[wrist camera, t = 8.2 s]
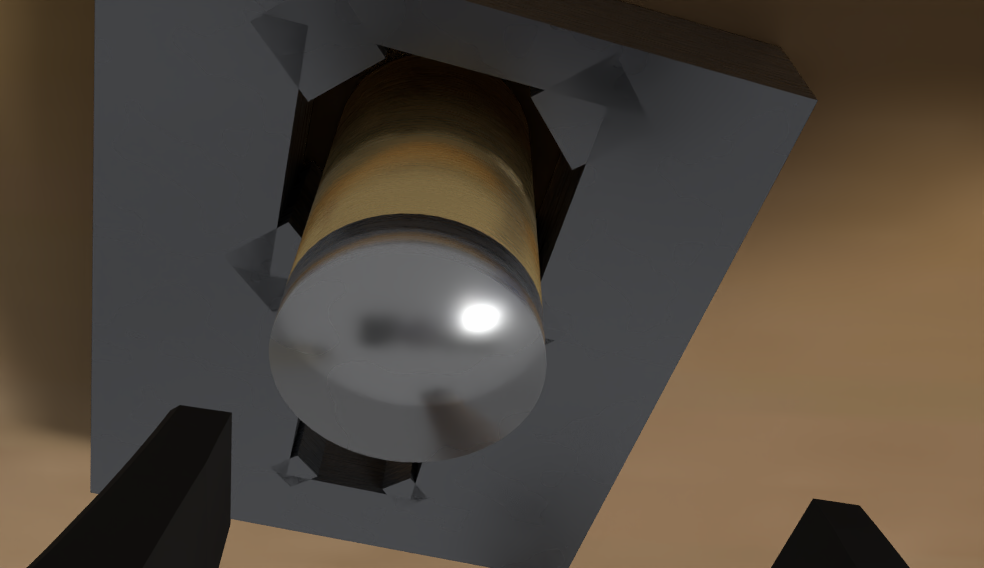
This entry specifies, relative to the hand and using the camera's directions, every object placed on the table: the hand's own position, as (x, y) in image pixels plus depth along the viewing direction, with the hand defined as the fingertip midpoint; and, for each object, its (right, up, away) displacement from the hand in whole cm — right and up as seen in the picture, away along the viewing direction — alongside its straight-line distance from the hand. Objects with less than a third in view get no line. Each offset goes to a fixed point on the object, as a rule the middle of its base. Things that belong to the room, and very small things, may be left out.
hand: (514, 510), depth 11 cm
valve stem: (-1, +6, +7) cm, 9 cm away
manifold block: (-2, +3, +9) cm, 10 cm away
